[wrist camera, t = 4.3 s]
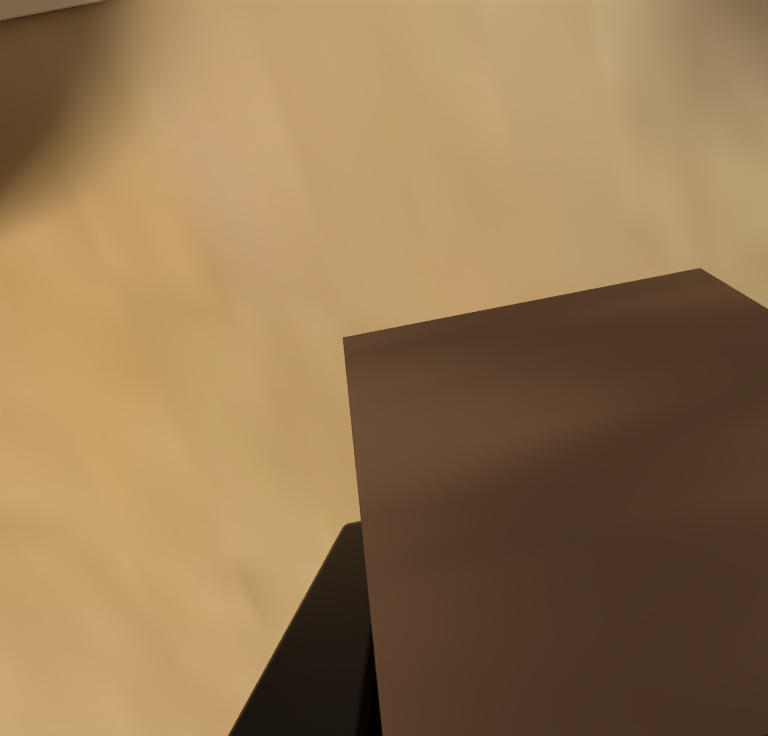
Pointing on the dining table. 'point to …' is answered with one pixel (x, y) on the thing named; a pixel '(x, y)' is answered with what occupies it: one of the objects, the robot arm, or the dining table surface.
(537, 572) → the walnut block
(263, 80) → the dining table surface
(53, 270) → the dining table surface
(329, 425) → the dining table surface
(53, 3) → the envelope
